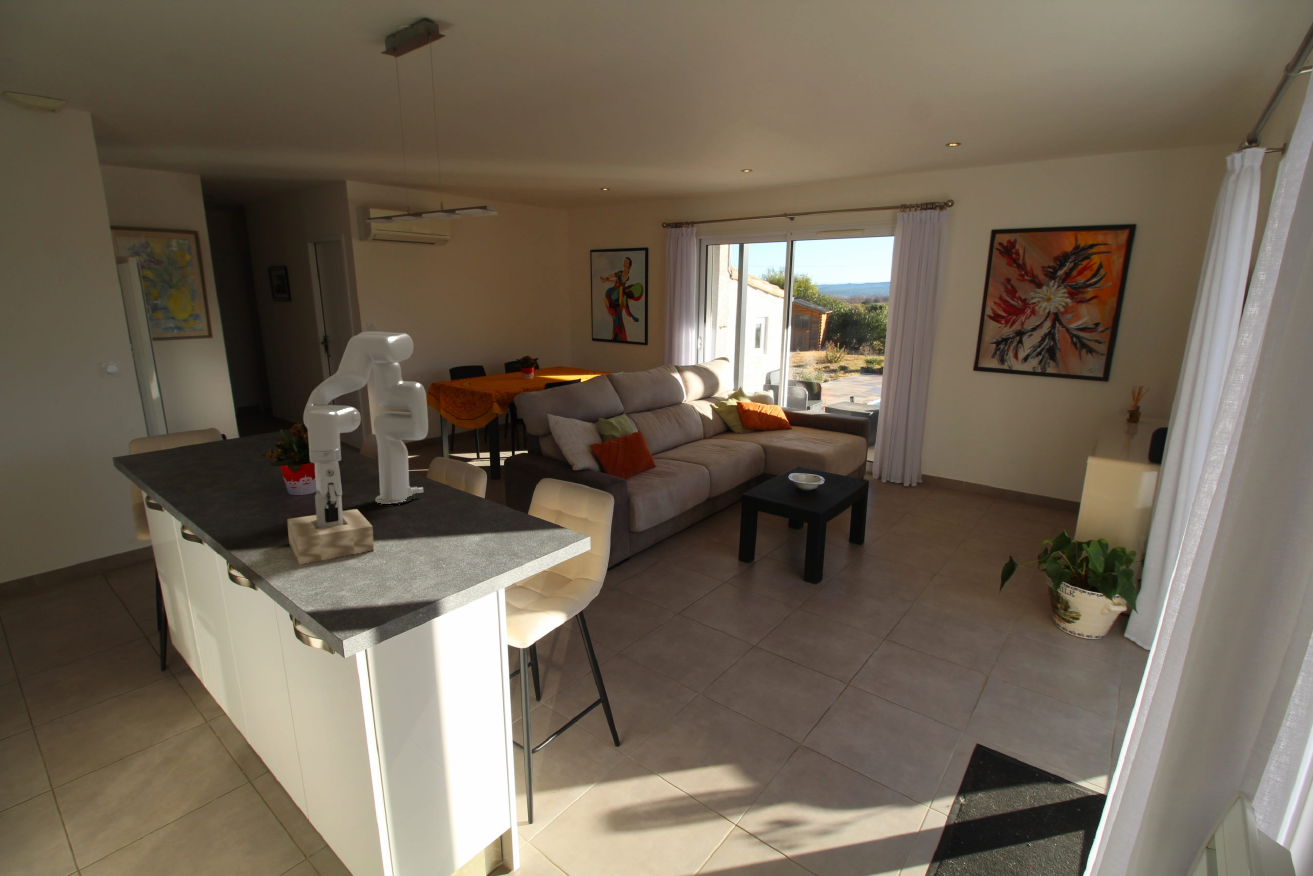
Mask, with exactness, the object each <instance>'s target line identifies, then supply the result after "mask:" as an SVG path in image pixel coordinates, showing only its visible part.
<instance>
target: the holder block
mask: <svg viewBox="0 0 1313 876" xmlns="http://www.w3.org/2000/svg"><path fill="white" fill-rule="evenodd" d="M342 515H343V525H340V526H334V527H328V528H321V529H317V518H316V514H313V515H306V516H299V517H294V518H293V517H292V518H287V519H286V520H287V521H286V522H287V533H288V544H289V546H290V548H291V550H292V552H293V555H294V556H295V558H296V557H297V558H296V561H297V562H298V564H299V565H306V564H310V562H311V563H316V562H321V561H325V560H332V558H333V559H336V558H335V557H338V558H342V557H341V556H343V557H347V556H346V555H349V556H351V555H350V554H354V555H356V554H355V553H359V554H362V553H361V552H365V553H367V552H366V551H370V550H374V530H373V525H372V524H371V523H370V521H368V520H367V518H366V517H365V516H364V515H363V514H362V513H361V512H360V511H359V510H358V509H357V508H356V509H355V508H353V509H348V510H342ZM370 552H371V551H370ZM305 563H306V564H305Z"/></svg>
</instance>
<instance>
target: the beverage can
mask: <svg viewBox="0 0 1313 876" xmlns="http://www.w3.org/2000/svg"><path fill="white" fill-rule="evenodd" d="M315 493H316V494H315V495H314V501H315V502H314V503H315V515H316V518H317V529H321V528H328V527H334V526H340V525H343V515H342V511H343V502H342V496H340V497H339V496H338V495H337V494H336V499H337V507H338V518H339V520H338V521H335V522H328V523H326V522H325V510H324V508H326V507H325V499H324V498H322V497H321V494H320V492H319V491H317V490H316V491H315ZM326 497H330V496H329V495H326ZM327 500H328V501H329V500H330V499H327Z"/></svg>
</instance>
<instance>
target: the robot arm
mask: <svg viewBox="0 0 1313 876" xmlns="http://www.w3.org/2000/svg"><path fill="white" fill-rule="evenodd" d="M413 352H414V341H413V339H412V337H411V336H410V335H409V334H407V333H405V332H387V331H386V332H385V331H363V332H360V333H358V334H357V335H353V336H352V337H351V338H350V339H349V340H348V342H347V345H346V347H345V350H344V353H343V355H342V358H341V360H340V363H339V365H338V368H337V371H336V372H335V373H334V374H333V375H331V376H329V377H328V378H326V379H325V380H323V381H322V382H321V383H320V384H318V385H317V386H316V387H315V388H314V389H313V390H312V392H311V393H310V396H309V397H308V400H307V403H306V405H305V407H304V411H303V419H302V420H303V424H304V426H305V427H306V428H307V438H308V452H309V453H308V454H309V462H310V463H313V464H314V476H315V486H316V491H319V492H320V494H321V497H322V498H324V499H325V507H326V508H324V510H325V522H326V523H328V522H335V521H338V520H339V518H338V507H337V499H336V494H337V495H338V496H339V497H340V496H341V497H343V496H342V495H343V491H342V481H341V473H340V471H341V470H340V465H339V461H341V460H342V453H341V452H342V450H341V437H340V436H341V435H340V434H343V433H352V432H354V431H355V430H356V429H358V427H359V426H360V424H361V421H362V418H361V413H360V411H359V410H358V409H357V408H355V407H354V406H351V405H350V406H349V405H335V404H329V403H330V402H331V401H333V400H335V399H336V398H338V397H340V396H342V395H343V396H344V395H346V394H348V393H353V392H355V391H358V390H360V389H362V388H364V387H366V385H367V384H368V381H369V378H370V376H371V373H372V371H373V377H374V378H373V379H374V390H375V399H376V402H377V405H378V406H379V407H381V408H383V409H393V410H408V411H409V412H408V411H407V412H403V411H383V412H380V413H378V414H377V415H375V417H374V419H373V429H374V433H375V438H376V444H377V453H378V454H377V456H378V457H377V458H378V476H379V477H378V478H379V479H378V480H379V494H380V495H377V496H376V497H375V503H376V502H377V503H376V504H378V503H381V504H380V505H382V504H391V503H398V502H403V501H406V500H405V499H407V497H409V496H412V495H413V494H414V495H415V494H422V493H424V490H425V489H424V487H423V486H421V487H418V486H410V474H409V473H410V472H409V471H410V470H409V451H408V448H407V446H406V444H405V443H404V442H403V440H405V441H421V440H424V439H425V438H426V437H427V436H428V433H429V417H428V416H429V415H428V403H427V402H428V401H427V392H426V390H425V387H424V385H423V384H422V383H420V382H417V381H407V380H406V381H404V380H403V378H402V368H401V364H400V362H403V361H406V360H408V359H410V357H411V356H412V355H413ZM326 495H329V496H330V497H326ZM327 499H330V500H329V501H328V500H327Z"/></svg>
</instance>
